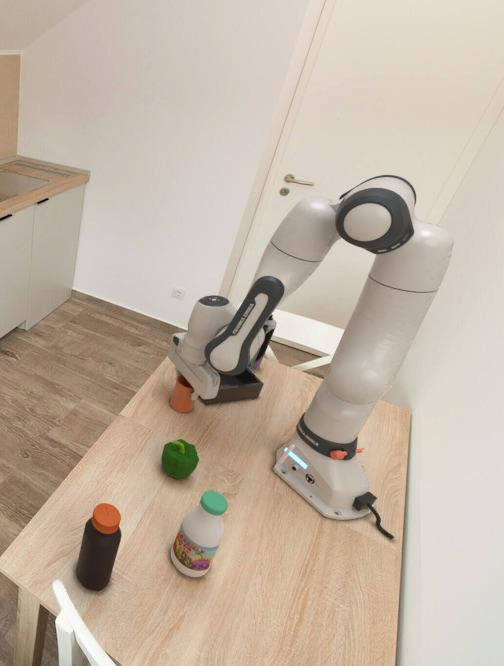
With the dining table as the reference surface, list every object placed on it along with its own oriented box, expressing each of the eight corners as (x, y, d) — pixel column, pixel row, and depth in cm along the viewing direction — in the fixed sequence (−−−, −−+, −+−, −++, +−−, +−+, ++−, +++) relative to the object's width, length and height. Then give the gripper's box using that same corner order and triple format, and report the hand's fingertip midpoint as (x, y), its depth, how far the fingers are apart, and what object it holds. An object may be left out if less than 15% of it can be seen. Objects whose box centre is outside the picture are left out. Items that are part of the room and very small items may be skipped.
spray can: (260, 372, 152) (282, 320, 141) (242, 370, 153) (262, 318, 142) (256, 362, 157) (277, 311, 146) (238, 360, 158) (258, 308, 147)
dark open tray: (258, 397, 142) (264, 383, 139) (205, 405, 139) (210, 390, 136) (232, 372, 152) (238, 358, 149) (183, 378, 149) (187, 364, 146)
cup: (196, 411, 137) (204, 387, 132) (176, 413, 135) (184, 389, 130) (185, 397, 142) (192, 373, 137) (166, 399, 140) (173, 375, 135)
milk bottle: (178, 536, 103) (202, 476, 92) (213, 558, 99) (243, 497, 88) (163, 562, 98) (187, 501, 87) (200, 586, 94) (229, 526, 83)
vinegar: (69, 566, 97) (80, 505, 86) (97, 554, 99) (112, 493, 88) (87, 597, 92) (101, 537, 81) (116, 584, 94) (134, 523, 83)
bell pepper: (197, 470, 119) (208, 442, 113) (185, 490, 113) (195, 462, 108) (166, 453, 123) (174, 425, 117) (152, 472, 118) (161, 444, 112)
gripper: (231, 372, 120) (216, 413, 127) (189, 329, 136) (177, 366, 144) (209, 375, 119) (195, 416, 126) (169, 331, 135) (159, 369, 143)
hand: (185, 389), depth 135 cm, fingers closed on cup, 6 cm apart
